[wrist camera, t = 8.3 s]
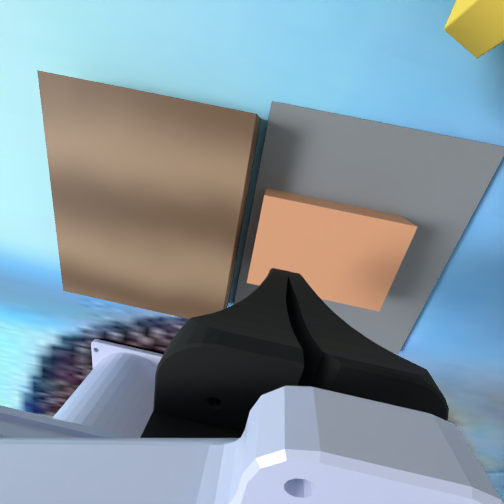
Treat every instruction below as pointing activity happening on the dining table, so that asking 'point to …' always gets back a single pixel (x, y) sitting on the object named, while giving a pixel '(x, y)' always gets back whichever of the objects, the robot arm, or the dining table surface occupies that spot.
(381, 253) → the orange flat block
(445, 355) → the dining table surface
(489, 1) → the teapot
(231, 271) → the stand
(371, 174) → the mat
